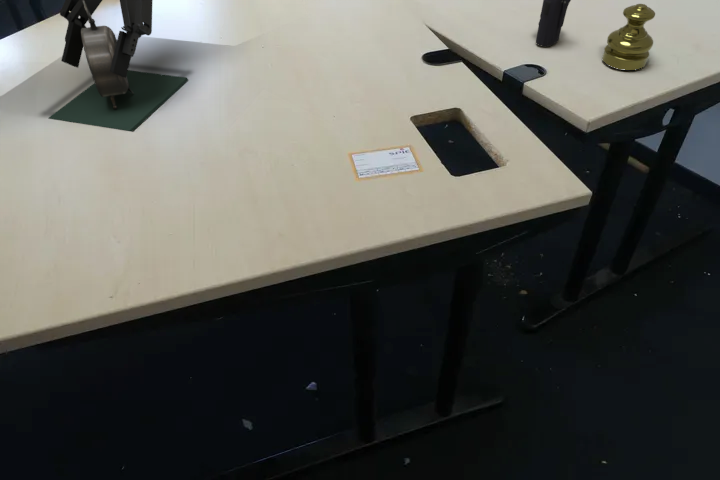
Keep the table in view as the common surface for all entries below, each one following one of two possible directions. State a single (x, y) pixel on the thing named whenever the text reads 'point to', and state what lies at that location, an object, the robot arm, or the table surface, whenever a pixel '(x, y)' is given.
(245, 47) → the table surface
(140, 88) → the desk mat
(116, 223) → the table surface
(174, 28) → the table surface
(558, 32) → the two-way radio
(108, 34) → the alarm clock
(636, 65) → the gold round tapered piece
